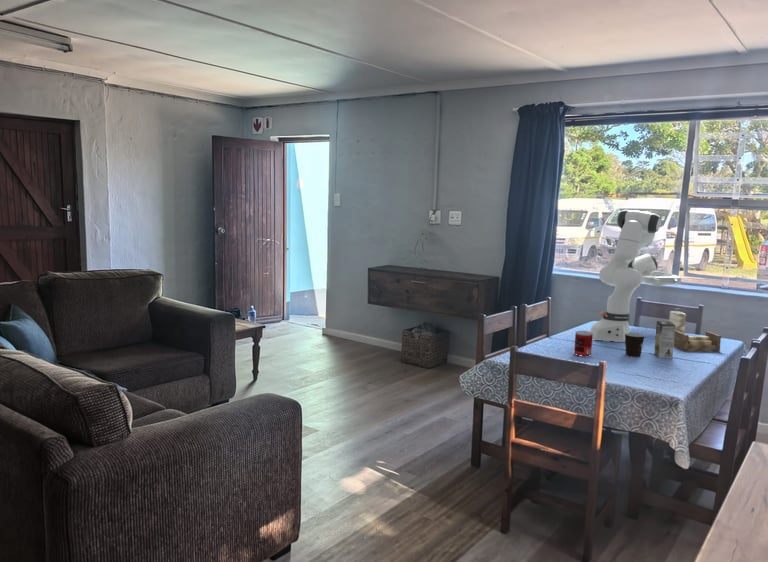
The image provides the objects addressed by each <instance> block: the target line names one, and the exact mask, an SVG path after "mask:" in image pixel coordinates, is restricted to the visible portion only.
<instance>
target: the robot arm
mask: <svg viewBox="0 0 768 562" xmlns="http://www.w3.org/2000/svg"><path fill="white" fill-rule="evenodd" d="M616 220H617V221H616V222H617V226H618V227H619V228H620V232H619V236H618V238H617V239H618V240H617V241H616V242H617V243H616V246H615V249H614V253H613V255H612V257H611V259H609V261H608V263H607V264H605V265H604V266H603V267H602V268H601V269H600V270H599V279H600V281H601V282H602V283H604V284H606V285H608V286H611V287H612V286H613V287H614V290H613V293H612V294H610V295H609V296H608V297H607V301H606V302H607V303H606V304H607V305H606V311H605V312H603V311H600V312H599V315H600V316H602V318H600V320H599V321H596V322H595V323H593V324H592V326H591V328H590V331H589V332H592V333H593V336H592V339H594V340H593V341H595V340H603V341H602V342H610V341H614V342H615V343H625V333H630V330H629V329H630V328H629V327H630V326H629V323H630V320H631V319H630V315H631V313H630V304H631V298H632V295H634V294H633V293H634V292H635V290H636V289H637V288H639V287H640V286H641V284H642V283H644V284H647V285H650V286H653V287H660V286H666V285H674V284H675V285H680V284H682V277H681V276H678V275H676V274H673V273H671V272H665V271H664V272H663V271H659V270H658V268H659V265H658V261H657V259H656V257H655V256H654V255H652V254H650V253H646V254H643V255H639V251H640V250H641V249H642V248H644V247H646V246H647V245H649V244H651V242H653V241H654V239H655V235H656V232H658V231H659V230H660V228H661V226H662V220H661V216H660V214H657V213H651V212H649V211H641V210H636V209H635V210H634V209H631V210H629V209H622V210H621V211H620V212H619V213H618V216H617V219H616ZM638 255H639V256H638ZM614 342H613V343H614Z"/></svg>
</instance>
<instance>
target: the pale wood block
mask: <svg viewBox="0 0 768 562" xmlns="http://www.w3.org/2000/svg"><path fill="white" fill-rule="evenodd" d="M686 320H687V313H684V312H683V311H677V310H670V311H669V320H668V322H672V323H673V324H674V325H675V331H679V332H682V333H684V334H686V333H685V332H686Z"/></svg>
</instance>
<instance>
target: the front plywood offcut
mask: <svg viewBox="0 0 768 562" xmlns="http://www.w3.org/2000/svg"><path fill="white" fill-rule="evenodd" d="M688 345H712V341H710V340H688Z"/></svg>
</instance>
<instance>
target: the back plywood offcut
mask: <svg viewBox="0 0 768 562" xmlns="http://www.w3.org/2000/svg"><path fill="white" fill-rule="evenodd" d="M688 340H709V337H708V336H706V335H701V336H700V335H699V336H698V335H696V336H695V335H689V338H688Z"/></svg>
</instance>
